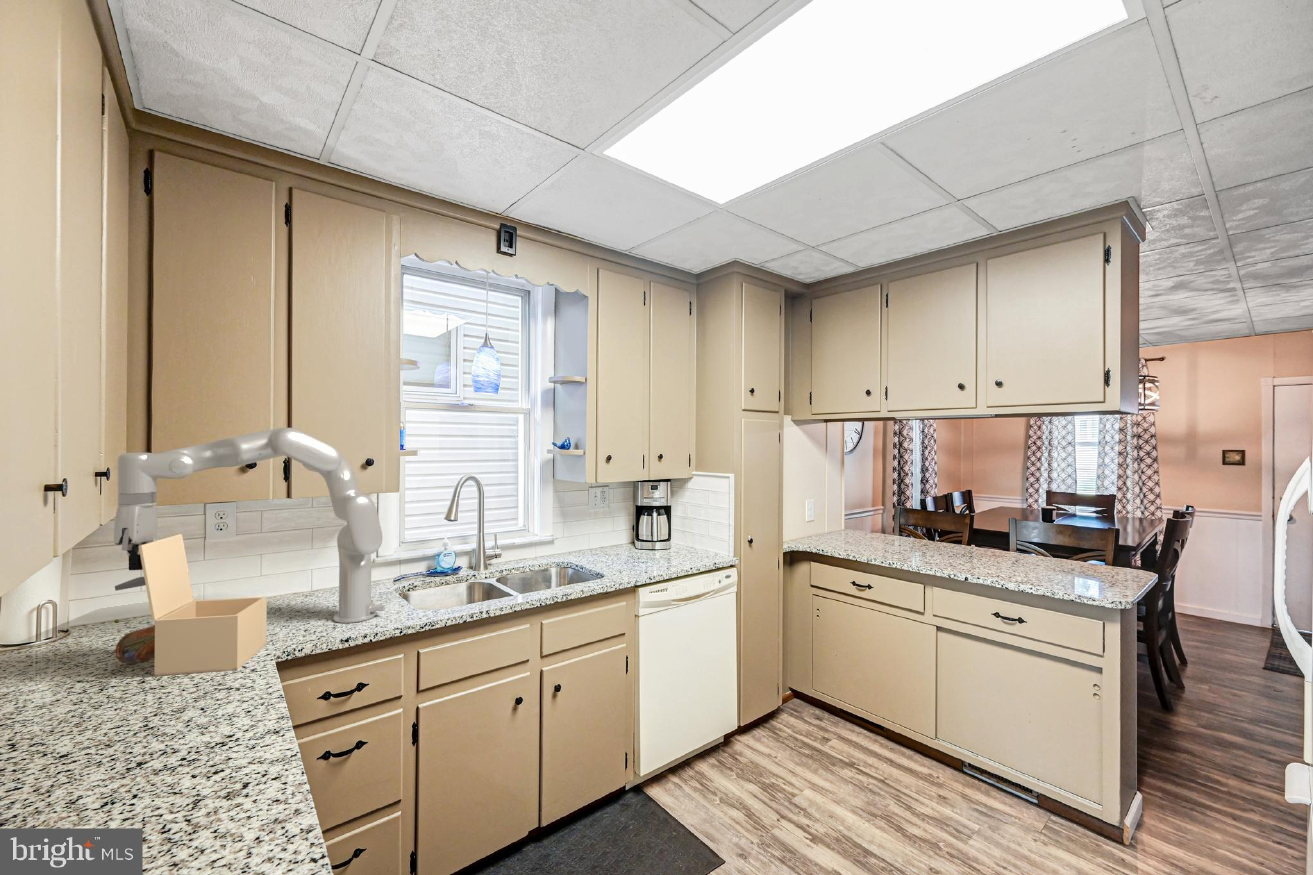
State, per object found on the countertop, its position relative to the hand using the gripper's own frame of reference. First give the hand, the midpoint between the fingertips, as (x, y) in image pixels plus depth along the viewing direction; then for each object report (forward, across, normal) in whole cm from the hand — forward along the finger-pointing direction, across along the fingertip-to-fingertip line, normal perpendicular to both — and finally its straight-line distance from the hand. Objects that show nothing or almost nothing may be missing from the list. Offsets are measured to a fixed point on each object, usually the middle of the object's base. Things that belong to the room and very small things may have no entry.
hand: (137, 569), depth 149 cm
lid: (+2, 0, +7) cm, 7 cm away
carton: (+25, 0, +17) cm, 31 cm away
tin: (+26, -6, -1) cm, 26 cm away
